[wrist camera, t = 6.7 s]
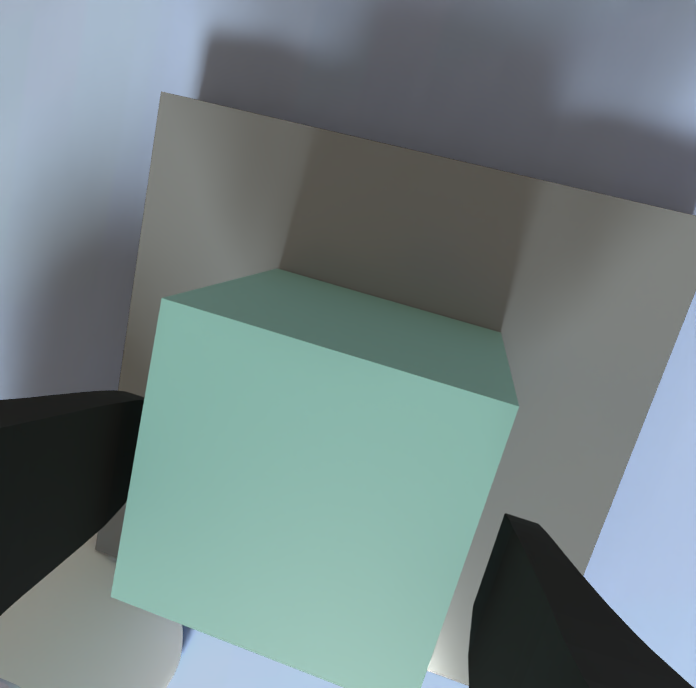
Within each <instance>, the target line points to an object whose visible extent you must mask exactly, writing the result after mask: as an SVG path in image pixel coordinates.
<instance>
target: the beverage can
mask: <svg viewBox="0 0 696 688" xmlns="http://www.w3.org/2000/svg"><path fill="white" fill-rule="evenodd" d="M97 533H98V532H97ZM97 533H96V534H95V535H94V536H93V537H92V538H90V539H89V540H88V541H87V542H86V543H85V544H83V545H82V546H81V547H80V548H79V549H78V550H77V551H75V552H74V553H73V554H72V555H71V556H69V557H68V558H67V559H66V560H65V561H64V562H62V563H61V564H60V565H59V566H58V567H56V568H55V569H54V570H53V571H52V572H50V573H49V574H48V575H47V576H46V577H45V578H43V579H42V580H41V581H40V582H39V583H37V584H36V585H35V586H34V587H33V588H32V589H30V590H29V591H28V592H27V593H26V594H24V595H23V596H22V597H21V598H20V599H19V600H17V601H16V602H15V603H14V604H13V605H12V606H11V607H10V608H8V609H7V610H6V611H5V612H4V613H3V614H2V615H1V616H0V678H1V679H4V680H6V681H9V682H11V683H13V684H16V685H18V686H19V687H20V688H166V687H167V686H168V684H169V683H170V681H171V679H172V678H173V676H174V674H175V672H176V669H177V667H178V664H179V661H180V657H181V652H182V644H183V629H182V624H179V623H177V622H174V621H171V620H169V619H166V618H164V617H161V616H159V615H156V614H153V613H151V612H148V611H146V610H143V609H140V608H138V607H135V606H133V605H130V604H128V603H125V602H122V601H120V600H117V599H115V598H112V597H111V591H112V585H113V580H114V574H115V568H116V562H117V558H116V557H113V556H110V555H108V554H105V553H102V552H99V551H97V550H95V547H96V540H97Z"/></svg>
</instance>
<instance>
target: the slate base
mask: <svg viewBox="0 0 696 688" xmlns="http://www.w3.org/2000/svg"><path fill="white" fill-rule="evenodd" d="M273 269H281V270H284V271H288V272H291V273H295V274H298V275H302V276H305V277H309V278H312V279H316V280H319V281H323V282H326V283H330V284H333V285H337V286H340V287H344V288H347V289H351V290H354V291H358V292H361V293H365V294H368V295H372V296H375V297H379V298H382V299H386V300H389V301H393V302H396V303H400V304H403V305H407V306H410V307H413V308H417V309H420V310H424V311H427V312H431V313H434V314H438V315H441V316H445V317H448V318H452V319H455V320H459V321H462V322H466V323H469V324H473V325H476V326H480V327H483V328H487V329H490V330H494V331H497V332H501V335H502V339H503V343H504V347H505V351H506V355H507V359H508V363H509V367H510V371H511V375H512V379H513V383H514V388H515V392H516V396H517V400H518V404H519V409H518V411H517V414H516V417H515V420H514V423H513V426H512V429H511V431H510V434H509V437H508V440H507V443H506V446H505V449H504V451H503V454H502V457H501V460H500V463H499V466H498V469H497V471H496V474H495V477H494V480H493V483H492V486H491V489H490V491H489V494H488V497H487V500H486V503H485V506H484V509H483V511H482V514H481V517H480V520H479V523H478V526H477V529H476V531H475V534H474V537H473V540H472V543H471V546H470V549H469V551H468V554H467V557H466V560H465V563H464V566H463V569H462V571H461V574H460V577H459V580H458V583H457V586H456V589H455V591H454V594H453V597H452V600H451V603H450V606H449V609H448V611H447V614H446V617H445V620H444V623H443V626H442V629H441V631H440V634H439V637H438V640H437V643H436V646H435V649H434V652H433V654H432V657H431V660H430V663H429V666H428V669H427V671H429V672H432V673H435V674H437V675H440V676H443V677H446V678H448V679H451V680H454V681H457V682H459V683H462V684H465V685H468V686H469V673H468V651H469V640H470V629H471V619H472V610H473V604H474V601H475V598H476V596H477V593H478V590H479V587H480V584H481V581H482V578H483V575H484V572H485V569H486V566H487V564H488V561H489V558H490V555H491V552H492V549H493V546H494V543H495V540H496V537H497V534H498V532H499V529H500V526H501V523H502V520H503V517H504V514H505V513H507V514H510V515H513V516H516V517H519V518H522V519H525V520H529V521H532V522H535V523H538V524H539V525H540V526H541V527H542V528H543V529H544V530H545V531H546V532H547V533H548V534H549V535H550V537H551V538H552V539H553V540H554V541H555V543H556V544H557V545H558V546H559V547H560V549H561V550H562V551H563V552H564V554H565V555H566V556H567V557H568V558H569V560H570V561H571V562H572V563H573V565H574V566H575V567H576V568H577V569H578V571H579V572H580V573H581V574H582V575H584V572H585V570H586V567H587V565H588V562H589V560H590V557H591V555H592V552H593V550H594V547H595V545H596V542H597V539H598V537H599V534H600V532H601V529H602V527H603V524H604V522H605V519H606V517H607V514H608V512H609V509H610V507H611V504H612V502H613V499H614V496H615V494H616V491H617V489H618V486H619V484H620V481H621V479H622V476H623V474H624V471H625V469H626V466H627V464H628V461H629V459H630V456H631V453H632V451H633V448H634V446H635V443H636V441H637V438H638V436H639V433H640V431H641V428H642V426H643V423H644V421H645V418H646V416H647V413H648V410H649V408H650V405H651V403H652V400H653V398H654V395H655V393H656V390H657V388H658V385H659V383H660V380H661V378H662V375H663V373H664V370H665V367H666V365H667V362H668V360H669V357H670V355H671V352H672V350H673V347H674V345H675V342H676V340H677V337H678V335H679V332H680V329H681V327H682V324H683V322H684V319H685V317H686V314H687V312H688V309H689V307H690V304H691V302H692V299H693V297H694V294H695V292H696V216H695V215H691V214H686V213H682V212H678V211H673V210H669V209H665V208H660V207H656V206H652V205H647V204H643V203H639V202H635V201H630V200H626V199H622V198H617V197H613V196H609V195H604V194H600V193H596V192H592V191H587V190H583V189H579V188H574V187H570V186H566V185H561V184H557V183H553V182H548V181H544V180H540V179H536V178H531V177H527V176H523V175H518V174H514V173H510V172H505V171H501V170H497V169H493V168H488V167H484V166H480V165H475V164H471V163H467V162H462V161H458V160H454V159H450V158H445V157H441V156H437V155H432V154H428V153H424V152H419V151H415V150H411V149H406V148H402V147H398V146H394V145H389V144H385V143H381V142H376V141H372V140H368V139H363V138H359V137H355V136H351V135H346V134H342V133H338V132H333V131H329V130H325V129H320V128H316V127H312V126H307V125H303V124H299V123H295V122H290V121H286V120H282V119H277V118H273V117H269V116H264V115H260V114H256V113H252V112H247V111H243V110H239V109H234V108H230V107H226V106H221V105H217V104H213V103H208V102H204V101H200V100H196V99H191V98H187V97H183V96H178V95H174V94H170V93H165V92H161V96H160V103H159V109H158V116H157V123H156V130H155V137H154V144H153V151H152V158H151V165H150V172H149V179H148V186H147V193H146V200H145V207H144V214H143V220H142V227H141V234H140V241H139V248H138V255H137V262H136V269H135V276H134V283H133V290H132V297H131V304H130V311H129V318H128V325H127V332H126V338H125V345H124V352H123V359H122V366H121V373H120V380H119V387H118V391H126V392H129V393H132V394H135V395H139V396H142V397H145V392H146V387H147V381H148V375H149V369H150V363H151V357H152V351H153V346H154V340H155V334H156V328H157V322H158V316H159V310H160V305H161V299H162V298H164V297H168V296H171V295H175V294H179V293H183V292H187V291H191V290H195V289H199V288H203V287H207V286H211V285H214V284H218V283H222V282H226V281H230V280H234V279H238V278H242V277H246V276H250V275H254V274H257V273H261V272H265V271H269V270H273ZM126 504H127V502H126V503H125V504H124V505H123V506H122V508H121V509H120V510H119V511H118V512H117V513H116V514H115V515H114V516H113V518H112V519H111V520H110V521H109V522H108V523H107V524H106V525H105V526H104V527H103V528H102V529H101V530H100V531H98V533H97V540H96V547H95V550H97V551H99V552H102V553H105V554H108V555H110V556H113V557H116V558H117V556H118V550H119V545H120V539H121V533H122V527H123V521H124V515H125V509H126Z"/></svg>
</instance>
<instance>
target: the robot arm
mask: <svg viewBox="0 0 696 688" xmlns="http://www.w3.org/2000/svg"><path fill="white" fill-rule="evenodd" d="M144 398H145V397H142V396H139V395H135V394H132V393H129V392H126V391H91V392H80V393H69V394H60V395H50V396H40V397H31V398H20V399H8V400H0V616H1V615H2V614H3V613H4V612H5V611H6V610H7V609H8V608H10V607H11V606H12V605H13V604H14V603H15V602H16V601H17V600H19V599H20V598H21V597H22V596H23V595H24V594H26V593H27V592H28V591H29V590H30V589H32V588H33V587H34V586H35V585H36V584H37V583H39V582H40V581H41V580H42V579H43V578H45V577H46V576H47V575H48V574H49V573H50V572H52V571H53V570H54V569H55V568H56V567H58V566H59V565H60V564H61V563H62V562H64V561H65V560H66V559H67V558H68V557H69V556H71V555H72V554H73V553H74V552H75V551H77V550H78V549H79V548H80V547H81V546H82V545H83V544H85V543H86V542H87V541H88V540H89V539H90V538H92V537H93V536H94V535H95V534H96V533H97V532H98V531H100V530H101V529H102V528H103V527H104V526H105V525H106V524H107V523H108V522H109V521H110V520H111V519H112V518H113V516H114V515H115V514H116V513H117V512H118V511H119V510H120V509H121V508H122V506H123V505H124V504H125V503H126V502H127V498H128V492H129V486H130V480H131V474H132V468H133V463H134V457H135V451H136V445H137V439H138V433H139V427H140V422H141V416H142V410H143V404H144ZM468 673H469V688H694V687H692V686H691V685H690V684H689V683H688V682H687V681H686V680H684V679H683V678H682V677H681V676H680V675H679V674H678V673H677V672H676V671H674V670H673V669H672V668H671V667H670V666H669V665H668V664H667V663H666V662H665V661H663V660H662V659H661V658H660V657H659V656H658V655H657V654H656V653H655V652H654V651H652V650H651V649H650V648H649V647H648V646H647V645H646V644H645V643H644V642H643V641H642V640H641V639H640V638H639V637H638V636H637V635H636V634H635V633H634V632H633V631H632V630H631V629H630V628H629V627H628V625H627V624H626V623H625V622H624V621H623V620H622V619H621V618H620V617H619V616H618V615H617V614H616V613H615V612H614V611H613V610H612V609H611V608H610V606H609V605H608V604H607V603H606V602H605V601H604V600H603V599H602V597H601V596H600V595H599V594H598V593H597V592H596V591H595V590H594V588H593V587H592V586H591V585H590V584H589V583H588V581H587V580H586V579H585V578H584V577H583V575H582V574H581V573H580V572H579V571H578V569H577V568H576V567H575V566H574V565H573V563H572V562H571V561H570V560H569V558H568V557H567V556H566V555H565V554H564V552H563V551H562V550H561V549H560V547H559V546H558V545H557V544H556V543H555V541H554V540H553V539H552V538H551V537H550V535H549V534H548V533H547V532H546V531H545V530H544V529H543V528H542V527H541V526H540V525H539V524H538V523H535V522H532V521H529V520H525V519H522V518H519V517H516V516H513V515H510V514H507V513H505V514H504V517H503V520H502V523H501V526H500V529H499V532H498V534H497V537H496V540H495V543H494V546H493V549H492V552H491V555H490V558H489V561H488V564H487V566H486V569H485V572H484V575H483V578H482V581H481V584H480V587H479V590H478V593H477V596H476V598H475V601H474V604H473V610H472V619H471V629H470V640H469V651H468ZM0 688H20V687H19V686H18V685H16V684H13V683H11V682H9V681H6V680H4V679H1V678H0Z"/></svg>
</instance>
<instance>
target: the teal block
mask: <svg viewBox="0 0 696 688" xmlns="http://www.w3.org/2000/svg"><path fill="white" fill-rule="evenodd" d="M518 409H519V404H518V400H517V396H516V392H515V388H514V383H513V379H512V375H511V371H510V367H509V363H508V359H507V355H506V351H505V347H504V343H503V339H502V335H501V332H497V331H494V330H490V329H487V328H483V327H480V326H476V325H473V324H469V323H466V322H462V321H459V320H455V319H452V318H448V317H445V316H441V315H438V314H434V313H431V312H427V311H424V310H420V309H417V308H413V307H410V306H407V305H403V304H400V303H396V302H393V301H389V300H386V299H382V298H379V297H375V296H372V295H368V294H365V293H361V292H358V291H354V290H351V289H347V288H344V287H340V286H337V285H333V284H330V283H326V282H323V281H319V280H316V279H312V278H309V277H305V276H302V275H298V274H295V273H291V272H288V271H284V270H281V269H273V270H269V271H265V272H261V273H257V274H254V275H250V276H246V277H242V278H238V279H234V280H230V281H226V282H222V283H218V284H214V285H211V286H207V287H203V288H199V289H195V290H191V291H187V292H183V293H179V294H175V295H171V296H168V297H164V298H162V299H161V305H160V310H159V316H158V322H157V328H156V334H155V340H154V346H153V351H152V357H151V363H150V369H149V375H148V381H147V387H146V392H145V398H144V404H143V410H142V416H141V422H140V427H139V433H138V439H137V445H136V451H135V457H134V463H133V468H132V474H131V480H130V486H129V492H128V498H127V504H126V509H125V515H124V521H123V527H122V533H121V539H120V545H119V550H118V556H117V562H116V568H115V574H114V580H113V585H112V591H111V597H112V598H115V599H117V600H120V601H122V602H125V603H128V604H130V605H133V606H135V607H138V608H140V609H143V610H146V611H148V612H151V613H153V614H156V615H159V616H161V617H164V618H166V619H169V620H171V621H174V622H177V623H179V624H182V625H184V626H187V627H189V628H192V629H195V630H197V631H200V632H202V633H205V634H207V635H210V636H213V637H215V638H218V639H220V640H223V641H225V642H228V643H231V644H233V645H236V646H238V647H241V648H243V649H246V650H249V651H251V652H254V653H256V654H259V655H261V656H264V657H267V658H269V659H272V660H274V661H277V662H279V663H282V664H285V665H287V666H290V667H292V668H295V669H297V670H300V671H303V672H305V673H308V674H310V675H313V676H315V677H318V678H321V679H323V680H326V681H328V682H331V683H333V684H336V685H339V686H341V687H344V688H421V686H422V683H423V680H424V677H425V674H426V672H427V669H428V666H429V663H430V660H431V657H432V654H433V652H434V649H435V646H436V643H437V640H438V637H439V634H440V631H441V629H442V626H443V623H444V620H445V617H446V614H447V611H448V609H449V606H450V603H451V600H452V597H453V594H454V591H455V589H456V586H457V583H458V580H459V577H460V574H461V571H462V569H463V566H464V563H465V560H466V557H467V554H468V551H469V549H470V546H471V543H472V540H473V537H474V534H475V531H476V529H477V526H478V523H479V520H480V517H481V514H482V511H483V509H484V506H485V503H486V500H487V497H488V494H489V491H490V489H491V486H492V483H493V480H494V477H495V474H496V471H497V469H498V466H499V463H500V460H501V457H502V454H503V451H504V449H505V446H506V443H507V440H508V437H509V434H510V431H511V429H512V426H513V423H514V420H515V417H516V414H517V411H518Z"/></svg>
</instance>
